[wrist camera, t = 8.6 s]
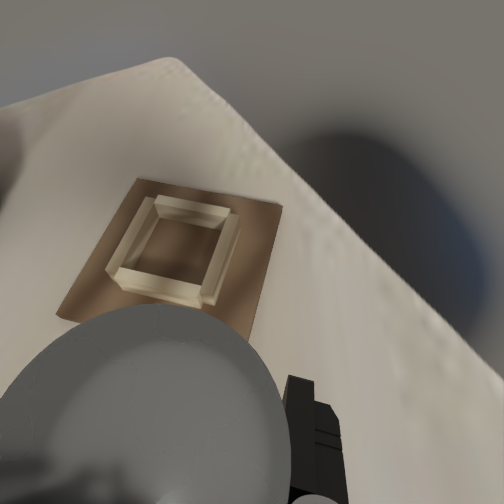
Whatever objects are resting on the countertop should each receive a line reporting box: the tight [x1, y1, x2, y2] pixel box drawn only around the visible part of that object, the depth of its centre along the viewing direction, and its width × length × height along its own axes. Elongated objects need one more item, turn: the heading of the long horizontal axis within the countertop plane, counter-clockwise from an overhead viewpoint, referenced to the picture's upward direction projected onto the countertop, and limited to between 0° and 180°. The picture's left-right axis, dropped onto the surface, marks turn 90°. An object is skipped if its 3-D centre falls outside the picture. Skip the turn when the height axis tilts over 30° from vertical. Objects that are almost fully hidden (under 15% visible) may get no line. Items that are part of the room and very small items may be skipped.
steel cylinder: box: [0, 303, 291, 504], centre depth 9 cm, size 4×4×9 cm
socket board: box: [56, 178, 283, 342], centre depth 34 cm, size 18×18×4 cm
